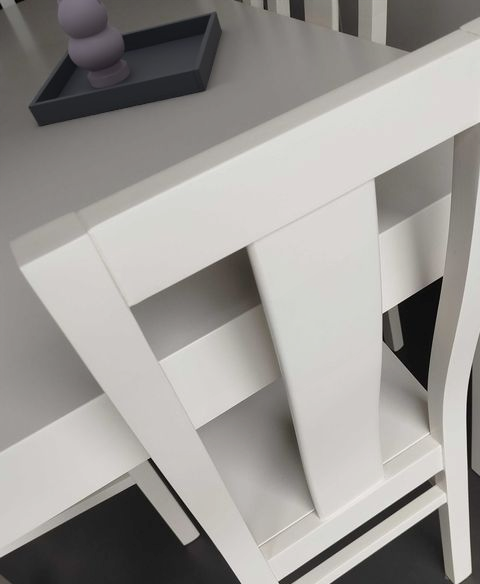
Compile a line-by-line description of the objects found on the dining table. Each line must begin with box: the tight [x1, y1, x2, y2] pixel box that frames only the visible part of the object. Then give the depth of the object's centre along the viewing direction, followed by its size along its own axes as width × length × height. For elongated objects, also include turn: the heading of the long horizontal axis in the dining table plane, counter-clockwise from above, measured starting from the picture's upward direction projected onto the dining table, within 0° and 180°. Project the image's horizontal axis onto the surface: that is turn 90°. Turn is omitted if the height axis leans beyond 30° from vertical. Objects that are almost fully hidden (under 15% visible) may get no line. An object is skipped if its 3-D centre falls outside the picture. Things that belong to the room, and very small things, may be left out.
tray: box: [27, 10, 222, 127], centre depth 90 cm, size 26×22×3 cm
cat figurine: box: [55, 0, 130, 88], centre depth 87 cm, size 8×8×12 cm
